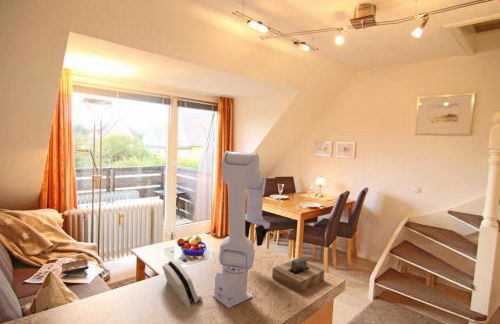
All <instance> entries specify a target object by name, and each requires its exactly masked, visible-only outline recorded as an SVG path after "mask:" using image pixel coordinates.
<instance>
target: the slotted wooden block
mask: <svg viewBox="0 0 500 324" xmlns="http://www.w3.org/2000/svg"><path fill="white" fill-rule="evenodd" d="M293 260H294V259H293ZM293 260H290V261H287V262H284V263H281V264H280V265H277V266H275V267H272V273H271V274H272V275H271V278H272V279H274V280H275V281H278V282H279V283H281V284H283V285H284V286H287V287H288V288H290V289H292V290H294V291H296V292H297V293H302V292H303V291H306V290H307V289H309V288H311V287H314V286H315V285H317V284H319V283H321V282H323V281H324V279H325V269H322V268H320V267H318V266H316V265H313V264H311V263H309V262H307V264H306V270H305V271H303V272H301V273H299V274H297V275H295V274H293V273H291V266H292V261H293Z"/></svg>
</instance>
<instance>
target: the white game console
mask: <svg viewBox="0 0 500 324" xmlns="http://www.w3.org/2000/svg"><path fill="white" fill-rule="evenodd" d="M161 267H162V270H163V273H164V276H165V279H166V282H167V283H168V284H169V286H170V287H171V289H172V290H173V291H174V292H175V294H176V295H177V296H178V298H179V299H180V300H181V301H182V303H183V304H184V305H185V307H186V308H189V307H191V306H192V304H193V303H197V302H199V301H200V303H203V302H204V301H203V298H202V296H201V295H200V294H199V292H198V291H196V289H195V287H194V283H193V281H192V280H191V277H190V276H189V274H188V273H187V272H186V270H185V269H184V267H182V265H181V264H180V263H179V262H178V261H176V260H175V259H172V260H169V261H168V262H167V263H164V264H163V265H162V266H161Z"/></svg>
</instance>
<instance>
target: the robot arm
mask: <svg viewBox="0 0 500 324" xmlns="http://www.w3.org/2000/svg"><path fill="white" fill-rule="evenodd" d="M259 168H260V155H259V154H258V153H257V152H252V153H251V152H244V151H243V152H241V151H240V152H239V151H229V150H226V151H225V152H224V154H223V155H222V160H221V178H222V182H223V183H224V184H226V185H227V186H226V187H227V199H228V202H227V204H228V205H227V206H228V207H227V208H228V236H226V237H225V238H223V239H222V241H221V243H220V246H219V254H218V262H219V264H220V266H222V269H221V270H220V271H219V272H217V273H216V275H215V279H214V293H213V294H212V297H214V298H215V299H216V300H218V302H220V303H221V304H223V305H224V306H225V307H227V308H229V309H230V308H232V307H234V306H236V305H238V304H241V303H243V302H245V301H247V300H250V299H252V298H253V294H251V293H249V292H248V291H247V290H248V277H249V276H248V275H249V270H251V269H252V268H253V266H254V263H255V262H254V261H255V249H254V242H253V241H252V240H251V239H250V237H249V236H250V230H251V226H252V224H254V225H257V226H255V228H254V230H255V235H256V246H257V247H261V246H262V245H263V244H264V240H265V237H266V235H267V233H268V231H270V227H271V222H269V221H267V220H265V219H264V218H263V217H264V216H263V206H264V205H263V202H264V195H265V189H266V185H267V184H266V182H267V177H265V176H264V175H262V174H261V171H260V169H259ZM246 190H248V191H247V202H246ZM246 203H247V204H246ZM246 205H247V206H246Z"/></svg>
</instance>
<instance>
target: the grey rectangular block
mask: <svg viewBox="0 0 500 324" xmlns="http://www.w3.org/2000/svg"><path fill="white" fill-rule="evenodd" d="M307 259H308V258H306V257H305V256H301V257H299V258H296V259H293V261H292V260H291V261H292V266H291V273H293V274H295V275H297V274H299V273H301V272H303V271H305V270H306V264H307V263H308V262H307V261H308V260H307Z"/></svg>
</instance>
